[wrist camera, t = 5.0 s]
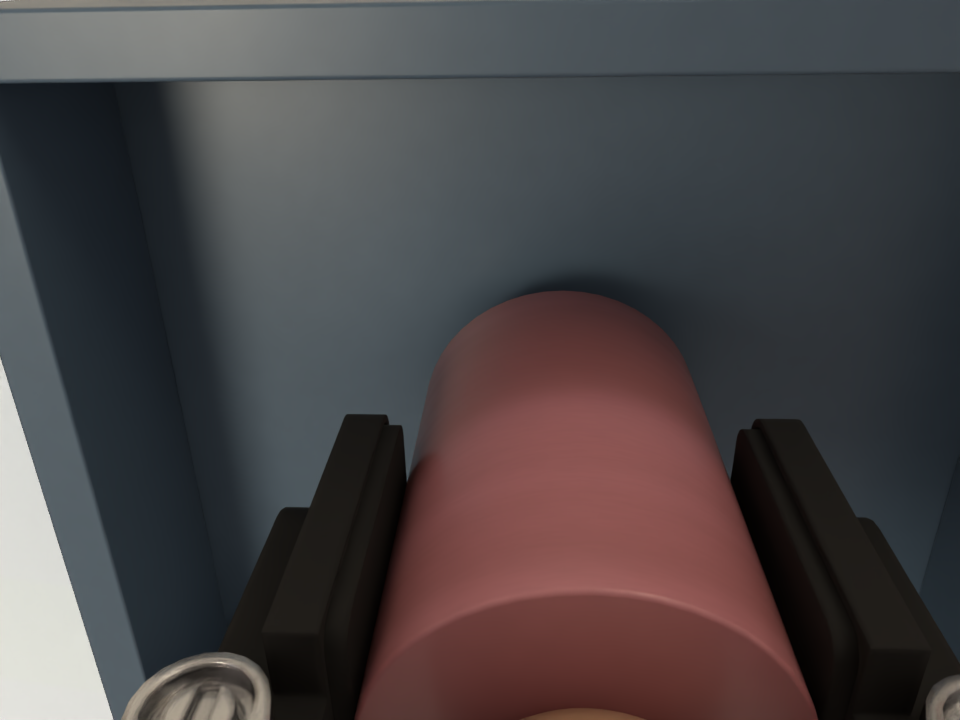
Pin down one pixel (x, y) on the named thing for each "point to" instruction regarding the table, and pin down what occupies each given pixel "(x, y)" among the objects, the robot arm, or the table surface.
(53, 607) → the table surface
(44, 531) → the table surface
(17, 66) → the tray
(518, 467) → the peg doll
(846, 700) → the robot arm
